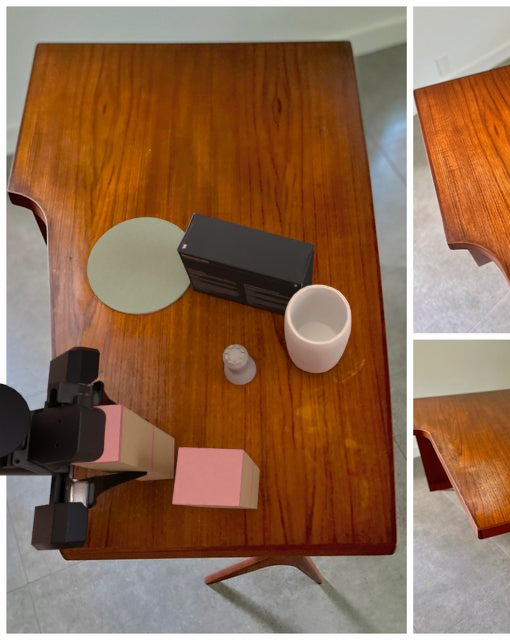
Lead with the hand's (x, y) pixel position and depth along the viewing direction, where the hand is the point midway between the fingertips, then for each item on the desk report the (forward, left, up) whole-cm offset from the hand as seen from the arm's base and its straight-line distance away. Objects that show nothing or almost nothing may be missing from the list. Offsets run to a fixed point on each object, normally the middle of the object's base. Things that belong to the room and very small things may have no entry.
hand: (146, 448), depth 58 cm
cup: (+23, +9, -14) cm, 28 cm away
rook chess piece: (+12, +9, -14) cm, 20 cm away
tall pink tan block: (+7, -6, -14) cm, 16 cm away
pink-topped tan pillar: (-1, 0, -11) cm, 11 cm away
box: (+17, +21, -14) cm, 30 cm away
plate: (+2, +29, -14) cm, 32 cm away
